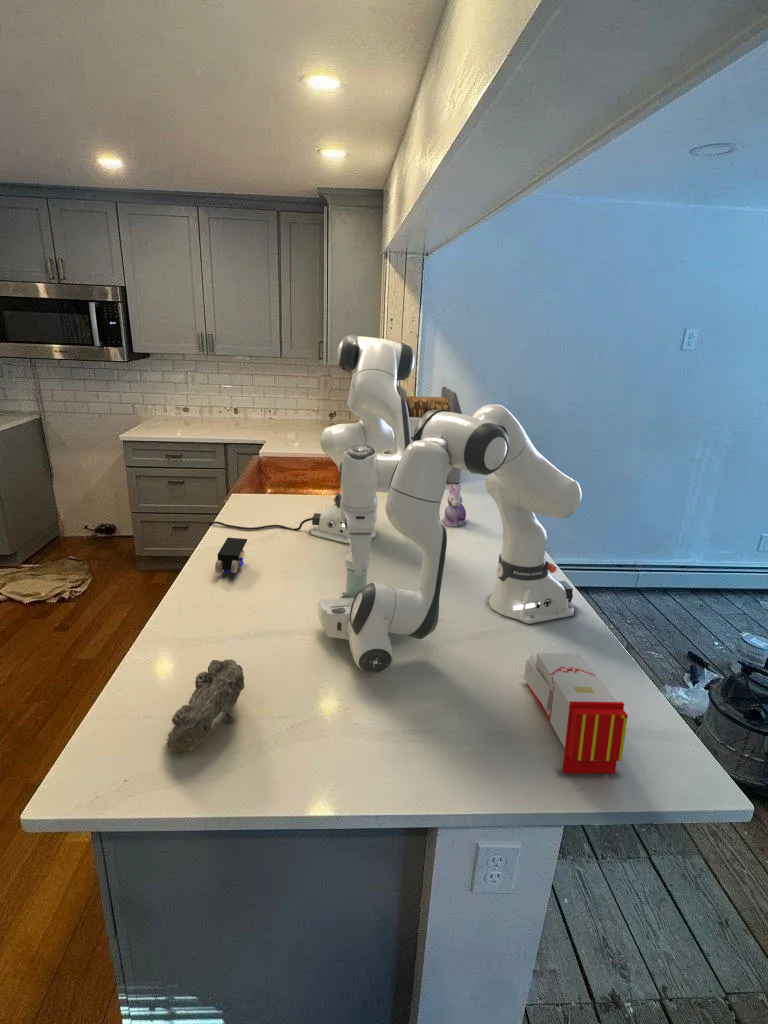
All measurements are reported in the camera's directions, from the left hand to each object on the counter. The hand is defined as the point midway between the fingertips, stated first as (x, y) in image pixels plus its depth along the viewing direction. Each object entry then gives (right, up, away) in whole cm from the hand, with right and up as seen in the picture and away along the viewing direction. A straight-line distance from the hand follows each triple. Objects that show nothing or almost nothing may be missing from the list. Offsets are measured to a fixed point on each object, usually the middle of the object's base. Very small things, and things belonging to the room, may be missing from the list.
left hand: (357, 565), depth 141 cm
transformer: (+24, +32, +134) cm, 140 cm away
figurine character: (-38, -4, +27) cm, 47 cm away
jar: (-1, -13, +5) cm, 14 cm away
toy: (+42, -28, -30) cm, 58 cm away
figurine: (+33, +9, +71) cm, 79 cm away
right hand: (-1, -8, +4) cm, 9 cm away
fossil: (-26, -26, -33) cm, 49 cm away
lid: (0, +2, -1) cm, 2 cm away
